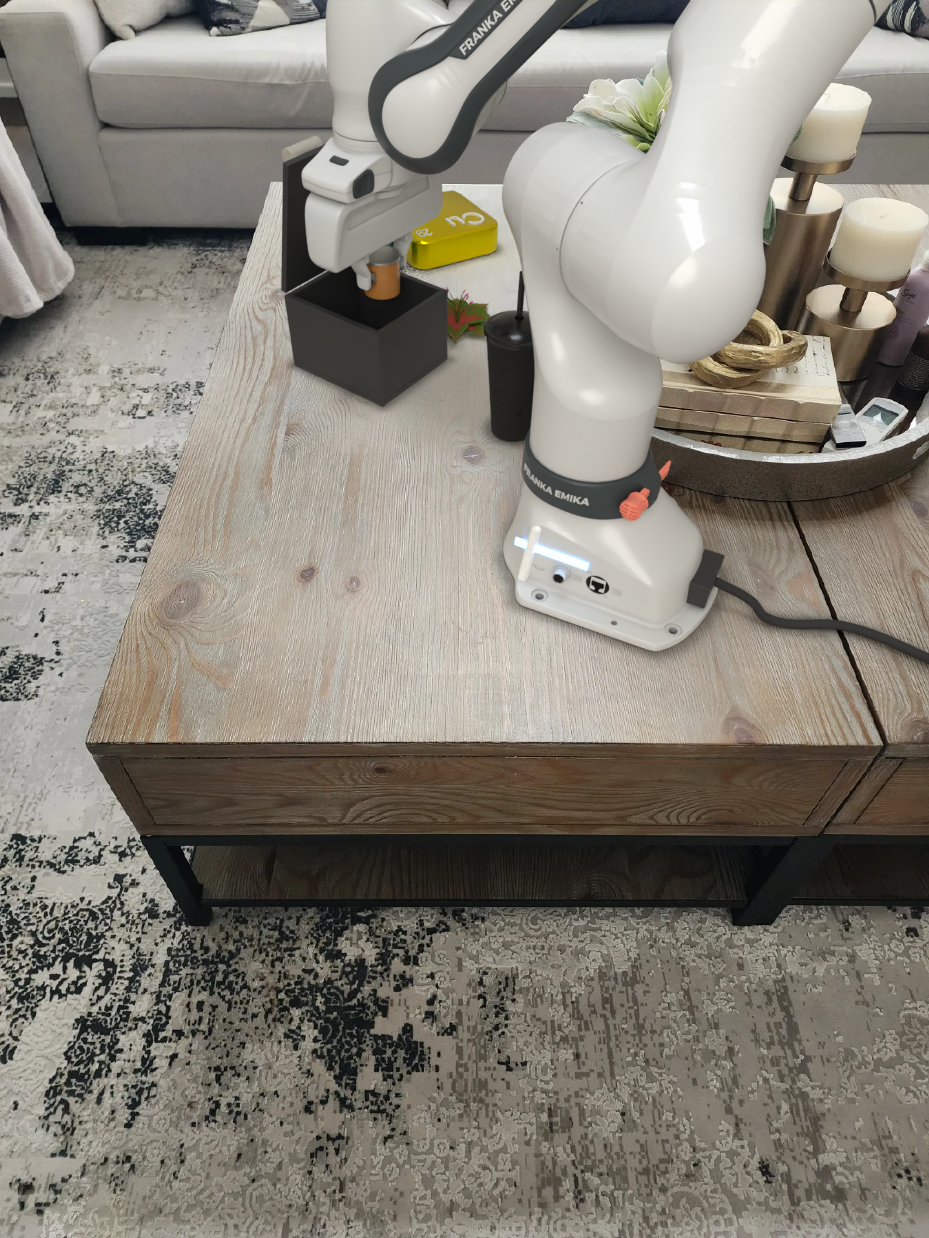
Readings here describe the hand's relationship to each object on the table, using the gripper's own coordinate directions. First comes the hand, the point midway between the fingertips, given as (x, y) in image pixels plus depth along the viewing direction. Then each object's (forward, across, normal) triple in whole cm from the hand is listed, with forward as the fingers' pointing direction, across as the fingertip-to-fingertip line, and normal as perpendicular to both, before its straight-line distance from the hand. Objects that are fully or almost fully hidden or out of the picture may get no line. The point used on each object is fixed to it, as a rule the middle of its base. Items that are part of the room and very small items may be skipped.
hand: (382, 278), depth 102 cm
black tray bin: (+12, 0, -3) cm, 13 cm away
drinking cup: (+13, +1, +20) cm, 24 cm away
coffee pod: (+2, 0, 0) cm, 2 cm away
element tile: (+13, -33, -17) cm, 39 cm away
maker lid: (-6, 0, -8) cm, 10 cm away
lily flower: (+13, -15, 0) cm, 20 cm away
